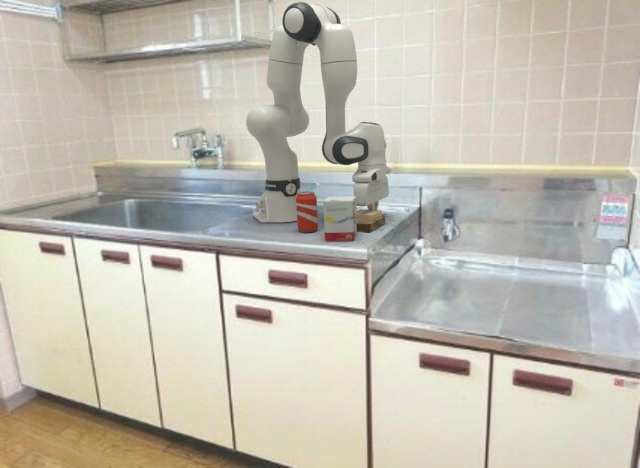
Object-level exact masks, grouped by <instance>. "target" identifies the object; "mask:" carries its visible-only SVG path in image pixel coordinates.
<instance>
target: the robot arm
mask: <svg viewBox="0 0 640 468" xmlns="http://www.w3.org/2000/svg"><path fill="white" fill-rule="evenodd" d="M281 22H282V24H281V25H279V26H277V27H276V28H275V30H274V33H273V36H272V40H271V42H270V43H271V44H270V49H269V55H268V64H267V73H266V85H267V87H268V89H270V91H271V92H272V94H273V103H274V104H262V105H259V106H256V107H254V108H252V109H250V110H249V112H248V113H247V115H246V118H245V119H246V120H245V122H246V123H245V124H246V128H247V130H248V133H249V134H250V135H251V136H252V137H253V138H255V140H256V141H257V143H258V145H259V147H260V148H261V151H262V154H263V158H264V164H265V175H266V179H265V181H264V182H265V183H264V192H263V194H261V196H260V198H259V199H258V201H257V202H256V203H255V204H256V209H258V211H255V212H253V213H252V216H253V217H254V218H255V219H256V220H257V219H258V220H257V221H259V222H260V223H290V222H297V209H296V197H297V195H298V194H297V193H299V192H303V191H302V190H301V189H300V188H301V179H300V177H299V164H298V163H299V161H298V156H297V154H296V153H297V152H295V151H294V150H293V149H291V147H290V144H289V142H288V138H289V137H290V138H293V137H296V136H298V135H301V134H303V133H304V132H306V131H307V129H308V128H309V127H308V126H309V124H310V117H309V114H308V111H307V110H306V109H305V107H304V105H303V100H302V93H301V83H302V75H303V74H302V73H303V66H304V55H305V51H306V49H307V47H308V46H309V45H312V46H314V47H315V46H316V47H317V48H318V50H319V58H320V72H321V81H322V86H323V92H324V93H323V94H324V99H325V101H324V102H325V125H326V126H325V135H324V138H323V142H322V145H321V152H322V153H321V154H322V155H323V157H324V159H325V160H326V161H327V162H328V163H330V164H333V165H341V166H351V165H353V164H357V169H356V171H355V172H354V173H353V174H352V176H351V179H352V180H351V181H352V182H353V183H354V184H353V196H356V207H365V208H366V207H367V210H379V204H380V201H381V200H383V199H385V198H387V197H389V195H390V189H389V180H388V179H389V178H388V176H387V173H386V172H387V171H386V170H387V169H386V168H387V167H386V159H385V152H386V142H385V140H386V139H385V132H384V128H383V126H382V125H381V124H379V123H376V122H371V121H370V122H367V121H361V122H359V123H358V124H357V125H356V126H354V127H353V128H351V129H349V130H348V131H347V130H346V102H347V101H348V98H349V96H350V94H351V92H352V91H353V90H354V89H355V87H356V85H357V80H358V79H357V78H358V61H357V59H358V58H357V49H356V44H355V39H354V35H353V32H352V29H351V28H350V27H349V26H347V25H345V24H342V21H341V19H340V16H339V15H338V14H337V13H336V11H335V10H333V9H332V8H331V7H327V6H323V5H321V4H317V3H307V2H303V1H299V2H294V3H292V4H290V5H288V6H287V8H286V9H285V10H284V12H283V16H282V21H281Z"/></svg>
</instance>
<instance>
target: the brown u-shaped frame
mask: <svg viewBox="0 0 640 468" xmlns="http://www.w3.org/2000/svg"><path fill="white" fill-rule="evenodd" d="M384 224H385V225H386V216H383V215H382V216H381V217H379V218H377V219H375V220H373V221H371V222H369V223H357V233H368V234H369V233H372V232H374V231H375V229H376V230H377V229H379V228H380V227H383V226H384ZM382 225H383V226H382Z"/></svg>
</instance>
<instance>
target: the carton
mask: <svg viewBox="0 0 640 468" xmlns="http://www.w3.org/2000/svg"><path fill="white" fill-rule="evenodd" d="M382 212H383V210H382V209H377V210H368V209H365V208H364V209H363V208H361V209H358V210H356V216H357V223H369V222H371V221H373V220H375V219H377V218H379V217H381V216H383V213H382Z"/></svg>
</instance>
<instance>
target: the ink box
mask: <svg viewBox="0 0 640 468" xmlns="http://www.w3.org/2000/svg"><path fill="white" fill-rule="evenodd" d="M322 204H323V221H324V222H323V224H324V225H323V226H324V241H325V242H354V241H355V239H356V238H357V235H358V232H357V216H356V211H357V206H356V196H354V195H353V196H352V195H351V196H349V195H348V196H345V195H344V196H341V195H335V196H327V197H325V199H324V200H323V202H322Z"/></svg>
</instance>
